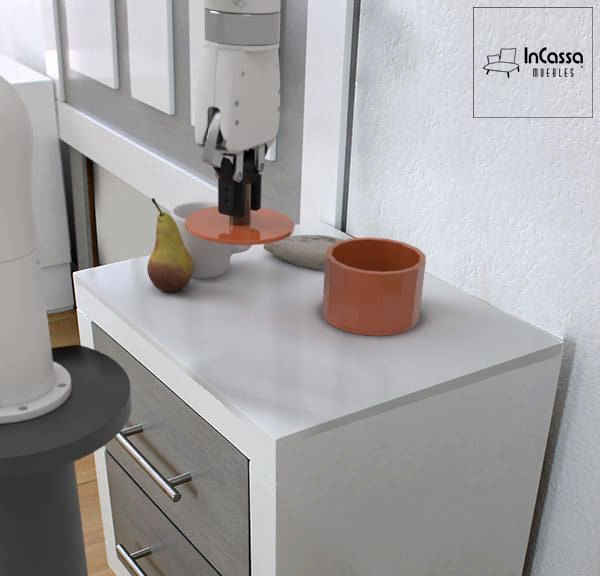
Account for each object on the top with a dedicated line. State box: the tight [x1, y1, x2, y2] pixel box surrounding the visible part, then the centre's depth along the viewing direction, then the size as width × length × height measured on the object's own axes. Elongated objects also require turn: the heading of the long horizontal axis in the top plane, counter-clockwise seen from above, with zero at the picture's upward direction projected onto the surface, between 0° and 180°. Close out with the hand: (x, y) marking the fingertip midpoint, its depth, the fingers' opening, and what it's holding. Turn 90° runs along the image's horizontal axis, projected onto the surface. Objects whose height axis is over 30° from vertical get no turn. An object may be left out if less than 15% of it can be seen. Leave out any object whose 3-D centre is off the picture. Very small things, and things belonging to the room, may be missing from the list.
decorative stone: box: [263, 234, 345, 271], centre depth 120 cm, size 6×16×3 cm, turn 73°
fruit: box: [146, 197, 194, 292], centre depth 108 cm, size 6×6×12 cm
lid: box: [185, 179, 296, 246], centre depth 99 cm, size 12×12×6 cm
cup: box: [170, 201, 253, 279], centre depth 115 cm, size 11×8×8 cm
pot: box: [322, 236, 427, 337], centre depth 105 cm, size 11×11×8 cm
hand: (239, 210), depth 99 cm, fingers closed on lid, 2 cm apart
